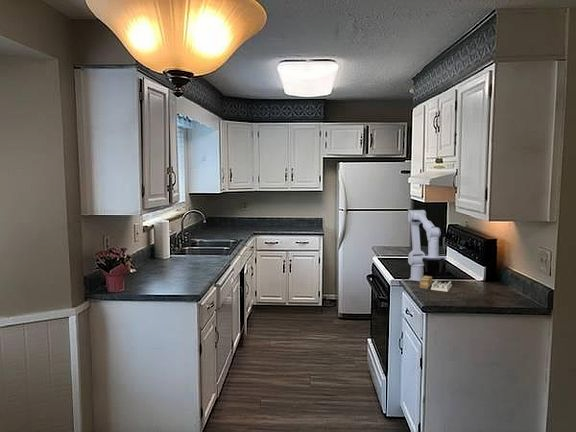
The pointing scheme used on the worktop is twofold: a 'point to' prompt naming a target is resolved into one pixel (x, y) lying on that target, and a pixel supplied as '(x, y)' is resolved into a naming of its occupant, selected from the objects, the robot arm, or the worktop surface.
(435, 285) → the peg base
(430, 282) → the golden brown block
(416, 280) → the robot arm
